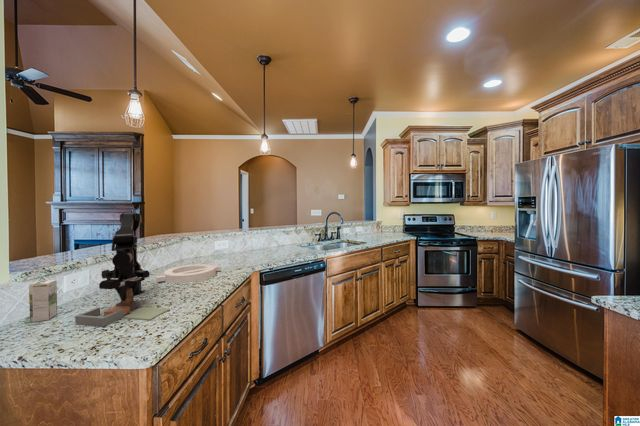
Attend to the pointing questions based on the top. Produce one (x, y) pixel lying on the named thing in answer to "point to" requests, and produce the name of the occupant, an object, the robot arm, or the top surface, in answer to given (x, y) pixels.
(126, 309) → the tile
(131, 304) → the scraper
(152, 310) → the mat
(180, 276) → the white circle with bar
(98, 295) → the top surface
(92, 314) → the bay
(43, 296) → the syrup box
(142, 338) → the top surface
